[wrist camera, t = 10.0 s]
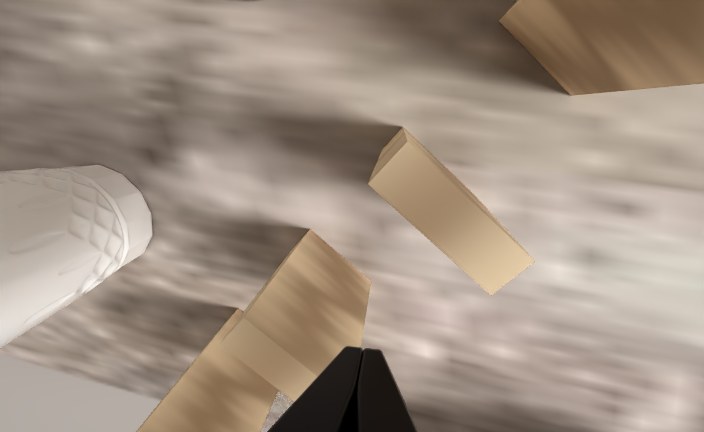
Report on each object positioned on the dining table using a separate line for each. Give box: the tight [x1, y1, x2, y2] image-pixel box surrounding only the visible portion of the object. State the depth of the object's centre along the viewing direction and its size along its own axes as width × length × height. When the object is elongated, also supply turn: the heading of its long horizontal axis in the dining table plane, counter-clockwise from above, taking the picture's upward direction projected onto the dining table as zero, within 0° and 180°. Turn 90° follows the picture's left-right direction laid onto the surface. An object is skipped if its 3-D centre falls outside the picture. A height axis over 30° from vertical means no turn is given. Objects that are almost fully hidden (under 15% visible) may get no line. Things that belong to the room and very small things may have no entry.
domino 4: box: [499, 0, 704, 95], centre depth 11 cm, size 5×2×9 cm, turn 49°
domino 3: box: [368, 127, 535, 295], centre depth 14 cm, size 5×2×9 cm, turn 49°
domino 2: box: [220, 229, 371, 402], centre depth 16 cm, size 5×2×9 cm, turn 49°
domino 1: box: [136, 308, 278, 432], centre depth 19 cm, size 5×2×9 cm, turn 49°
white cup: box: [0, 165, 152, 348], centre depth 17 cm, size 8×8×10 cm
